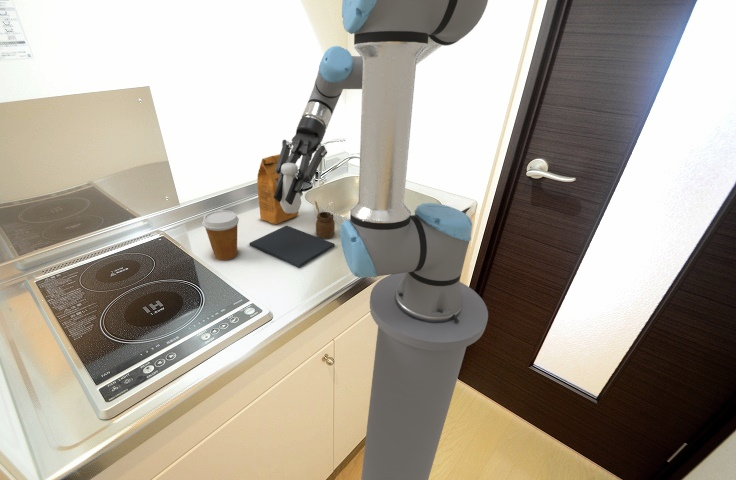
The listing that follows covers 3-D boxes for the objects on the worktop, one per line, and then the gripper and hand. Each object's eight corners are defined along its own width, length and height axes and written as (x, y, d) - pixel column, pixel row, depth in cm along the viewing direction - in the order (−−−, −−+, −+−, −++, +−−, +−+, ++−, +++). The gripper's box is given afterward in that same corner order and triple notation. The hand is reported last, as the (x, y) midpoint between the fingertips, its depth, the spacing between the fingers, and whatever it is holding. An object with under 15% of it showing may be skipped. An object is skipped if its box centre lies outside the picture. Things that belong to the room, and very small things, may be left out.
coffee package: (302, 217, 128) (301, 154, 117) (275, 228, 120) (270, 161, 109) (284, 209, 134) (281, 148, 122) (256, 219, 126) (250, 155, 115)
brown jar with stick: (337, 237, 116) (338, 202, 110) (318, 240, 114) (318, 204, 107) (330, 229, 120) (331, 195, 114) (312, 232, 118) (312, 197, 112)
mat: (334, 246, 111) (334, 243, 110) (299, 268, 100) (299, 265, 99) (286, 227, 121) (286, 225, 120) (249, 245, 110) (249, 242, 109)
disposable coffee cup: (234, 265, 100) (229, 225, 94) (202, 261, 102) (194, 222, 95) (248, 248, 108) (243, 211, 102) (217, 245, 110) (211, 208, 103)
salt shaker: (277, 213, 100) (274, 165, 93) (285, 205, 104) (282, 159, 97) (297, 216, 98) (295, 168, 91) (304, 208, 103) (303, 162, 96)
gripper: (343, 136, 100) (314, 213, 97) (294, 129, 107) (264, 201, 103) (335, 118, 94) (303, 200, 90) (283, 112, 100) (250, 188, 96)
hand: (282, 200), depth 96 cm, fingers closed on salt shaker, 3 cm apart
